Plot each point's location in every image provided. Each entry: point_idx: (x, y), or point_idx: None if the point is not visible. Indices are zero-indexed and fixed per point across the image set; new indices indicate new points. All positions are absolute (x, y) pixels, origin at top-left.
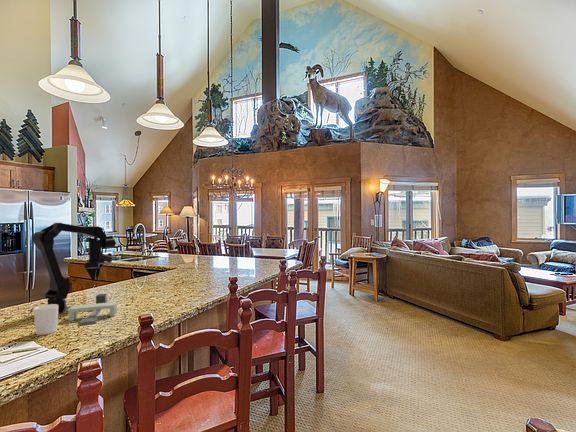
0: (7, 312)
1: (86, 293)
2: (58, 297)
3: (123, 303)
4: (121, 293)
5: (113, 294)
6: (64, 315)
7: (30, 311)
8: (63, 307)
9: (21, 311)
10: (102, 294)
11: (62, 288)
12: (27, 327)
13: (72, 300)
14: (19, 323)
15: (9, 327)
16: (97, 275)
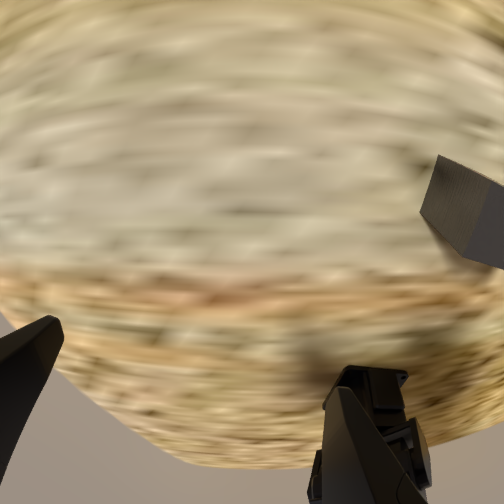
0: (247, 466)
1: (5, 265)
2: (425, 443)
3: (451, 42)
4: (58, 48)
5: (60, 102)
6: (465, 354)
7: (281, 441)
8: (397, 383)
9: (260, 452)
10: (497, 220)
11: (430, 477)
12: (491, 407)
13: (136, 336)
14: (431, 434)
15: (448, 437)
16: (45, 348)
